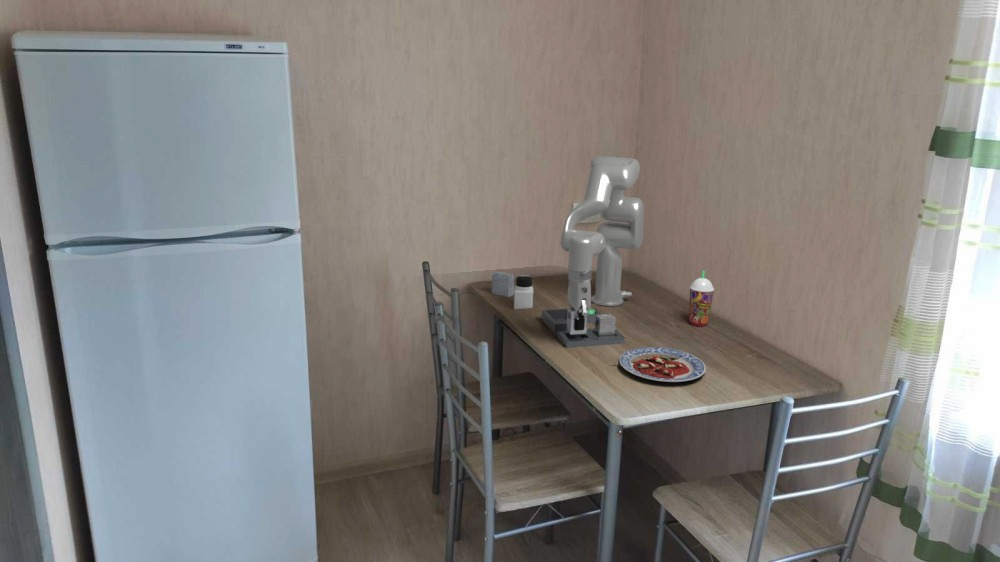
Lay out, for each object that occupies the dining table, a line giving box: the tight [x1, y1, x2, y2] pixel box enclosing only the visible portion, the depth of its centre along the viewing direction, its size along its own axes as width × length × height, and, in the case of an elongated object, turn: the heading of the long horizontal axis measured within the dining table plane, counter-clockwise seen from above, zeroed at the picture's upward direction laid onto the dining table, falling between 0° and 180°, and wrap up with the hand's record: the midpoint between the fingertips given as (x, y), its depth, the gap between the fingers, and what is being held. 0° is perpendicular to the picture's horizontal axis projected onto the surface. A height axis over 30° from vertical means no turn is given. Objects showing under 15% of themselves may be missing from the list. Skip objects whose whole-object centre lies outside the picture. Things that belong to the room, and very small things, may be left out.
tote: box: [541, 307, 569, 335], centre depth 252 cm, size 11×15×4 cm
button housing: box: [587, 307, 602, 325], centre depth 257 cm, size 7×7×4 cm
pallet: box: [556, 327, 626, 349], centre depth 239 cm, size 20×10×3 cm, turn 104°
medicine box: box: [491, 271, 515, 298], centre depth 286 cm, size 8×4×9 cm, turn 58°
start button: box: [588, 309, 595, 314], centre depth 257 cm, size 4×4×4 cm
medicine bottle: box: [513, 275, 535, 310], centre depth 271 cm, size 7×7×12 cm
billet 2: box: [594, 313, 617, 337], centre depth 239 cm, size 6×4×8 cm
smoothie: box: [688, 270, 715, 328], centre depth 256 cm, size 8×8×20 cm
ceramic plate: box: [619, 346, 707, 383], centre depth 220 cm, size 26×26×3 cm
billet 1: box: [566, 307, 588, 335], centre depth 236 cm, size 6×4×8 cm
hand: (576, 327), depth 236 cm, fingers closed on billet 1, 4 cm apart
